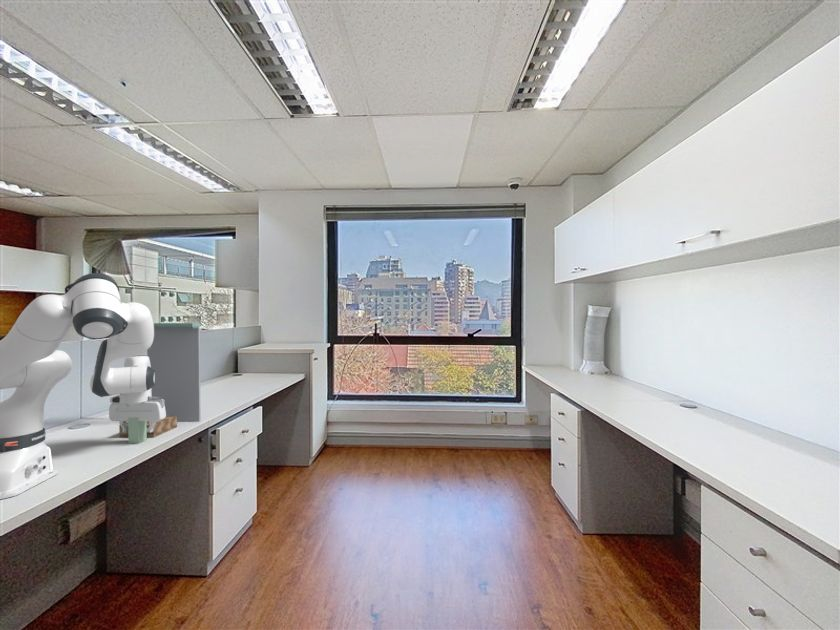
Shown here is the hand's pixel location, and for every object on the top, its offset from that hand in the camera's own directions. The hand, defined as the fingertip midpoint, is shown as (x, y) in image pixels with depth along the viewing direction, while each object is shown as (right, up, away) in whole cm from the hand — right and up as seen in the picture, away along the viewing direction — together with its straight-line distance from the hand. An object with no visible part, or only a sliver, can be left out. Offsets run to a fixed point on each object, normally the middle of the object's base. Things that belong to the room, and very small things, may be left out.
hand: (138, 432), depth 146 cm
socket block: (-4, -4, +12) cm, 13 cm away
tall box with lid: (-4, -4, +25) cm, 26 cm away
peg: (0, -4, 0) cm, 4 cm away
